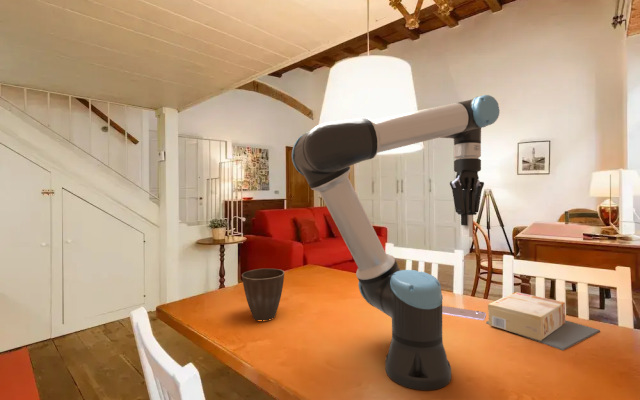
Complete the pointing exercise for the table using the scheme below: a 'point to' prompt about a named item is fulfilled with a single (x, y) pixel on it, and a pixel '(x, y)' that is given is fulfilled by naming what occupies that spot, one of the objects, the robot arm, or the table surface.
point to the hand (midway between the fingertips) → (466, 236)
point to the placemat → (566, 335)
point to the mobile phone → (463, 313)
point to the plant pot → (263, 291)
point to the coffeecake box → (527, 315)
